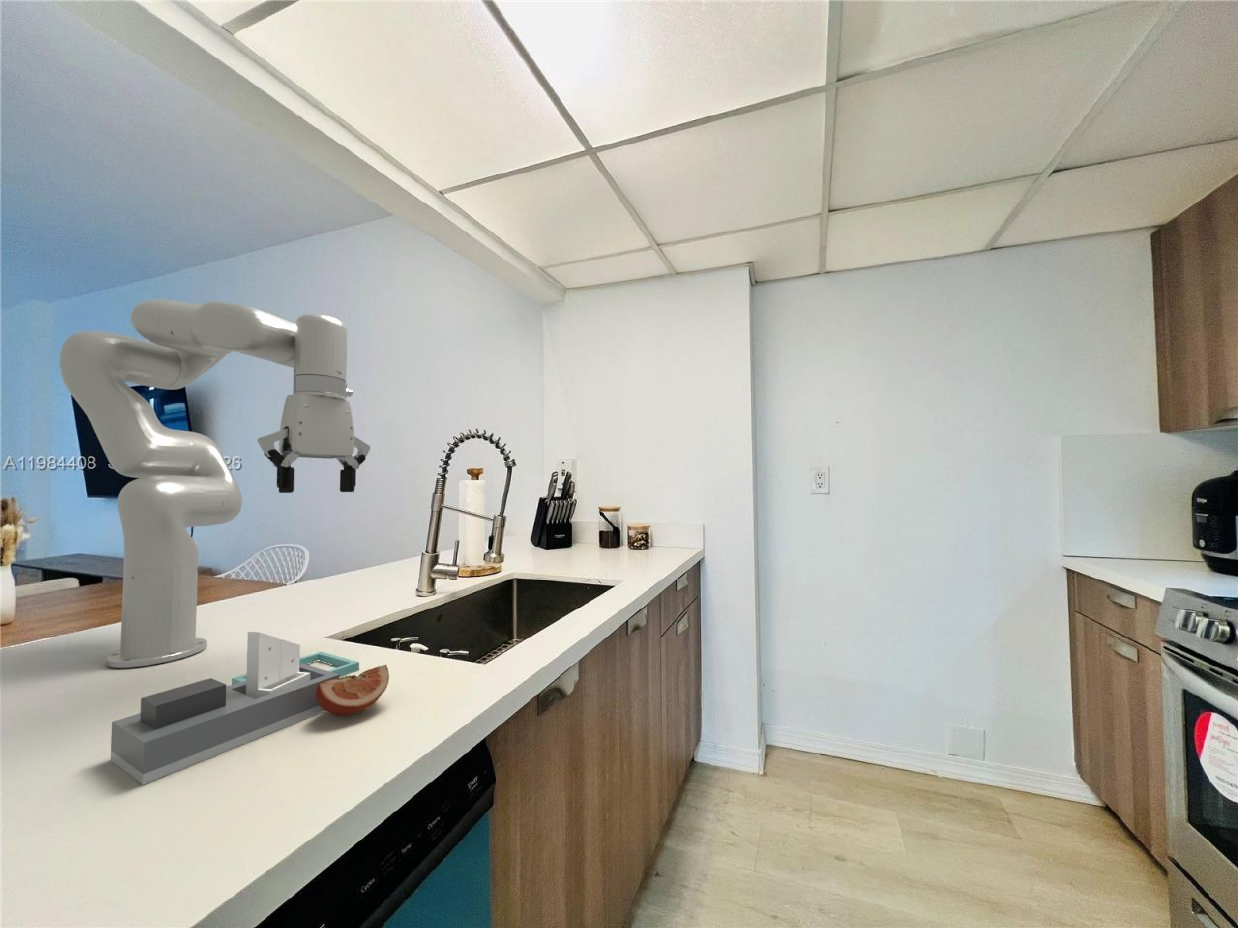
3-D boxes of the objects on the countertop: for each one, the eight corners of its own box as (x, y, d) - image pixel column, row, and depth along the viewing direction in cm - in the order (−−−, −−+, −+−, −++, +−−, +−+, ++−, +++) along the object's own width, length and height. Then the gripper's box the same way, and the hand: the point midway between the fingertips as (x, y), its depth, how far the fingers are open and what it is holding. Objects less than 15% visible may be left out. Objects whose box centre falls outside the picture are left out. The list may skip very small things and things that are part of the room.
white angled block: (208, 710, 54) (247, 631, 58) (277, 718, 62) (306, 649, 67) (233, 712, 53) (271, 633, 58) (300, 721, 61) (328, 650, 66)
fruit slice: (375, 694, 66) (376, 658, 66) (399, 707, 62) (399, 668, 62) (307, 717, 59) (308, 677, 59) (329, 734, 55) (330, 690, 55)
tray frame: (231, 686, 69) (232, 678, 69) (321, 658, 80) (321, 651, 80) (268, 701, 64) (269, 692, 64) (358, 669, 75) (359, 662, 75)
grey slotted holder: (110, 760, 50) (113, 698, 50) (301, 691, 67) (302, 645, 67) (142, 784, 46) (145, 717, 46) (338, 705, 62) (339, 656, 63)
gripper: (356, 401, 89) (355, 492, 88) (249, 383, 73) (246, 493, 72) (381, 396, 85) (380, 491, 84) (274, 377, 70) (271, 493, 69)
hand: (318, 492), depth 78 cm, fingers open, 9 cm apart
